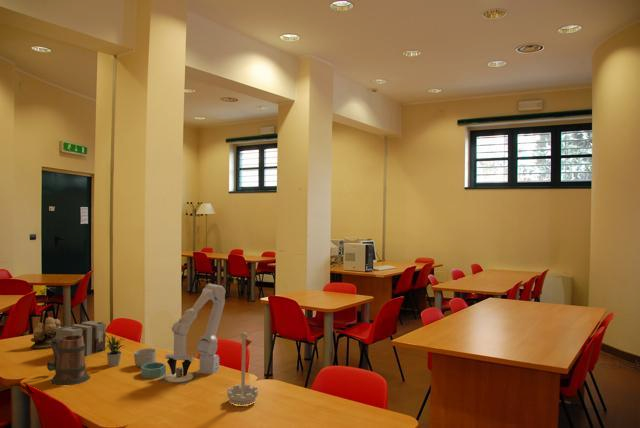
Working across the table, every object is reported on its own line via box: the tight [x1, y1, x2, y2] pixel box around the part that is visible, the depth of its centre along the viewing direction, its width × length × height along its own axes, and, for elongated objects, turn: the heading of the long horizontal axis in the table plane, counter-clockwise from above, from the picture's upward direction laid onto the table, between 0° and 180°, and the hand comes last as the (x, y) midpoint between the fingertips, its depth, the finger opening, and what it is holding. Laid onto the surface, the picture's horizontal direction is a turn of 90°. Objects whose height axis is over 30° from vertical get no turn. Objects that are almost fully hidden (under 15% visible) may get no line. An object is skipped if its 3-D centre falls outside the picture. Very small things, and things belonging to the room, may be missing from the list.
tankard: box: [46, 335, 91, 386], centre depth 234 cm, size 24×17×20 cm
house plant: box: [99, 334, 128, 367], centre depth 256 cm, size 14×14×16 cm
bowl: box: [140, 361, 167, 379], centre depth 242 cm, size 11×11×4 cm
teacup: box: [133, 347, 157, 369], centre depth 257 cm, size 14×11×8 cm
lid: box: [164, 366, 193, 382], centre depth 238 cm, size 13×13×5 cm
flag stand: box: [226, 331, 259, 405], centre depth 212 cm, size 13×13×30 cm
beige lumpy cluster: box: [30, 316, 62, 351], centre depth 287 cm, size 18×12×17 cm, turn 145°
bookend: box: [56, 320, 107, 357], centre depth 274 cm, size 16×25×16 cm, turn 156°
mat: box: [156, 372, 201, 386], centre depth 238 cm, size 15×15×1 cm
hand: (179, 374), depth 238 cm, fingers open, 6 cm apart
